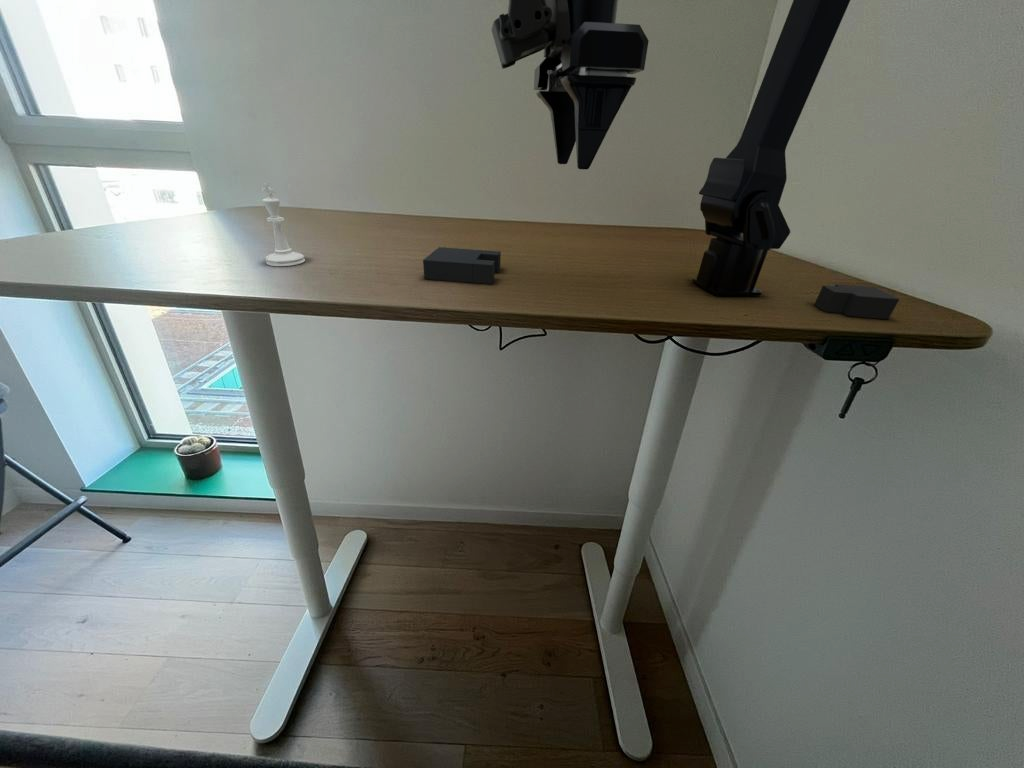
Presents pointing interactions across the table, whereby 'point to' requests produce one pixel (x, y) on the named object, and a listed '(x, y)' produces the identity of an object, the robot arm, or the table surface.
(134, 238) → the table surface
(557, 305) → the table surface
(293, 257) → the chess piece
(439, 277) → the charcoal pad
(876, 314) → the dark grey block
